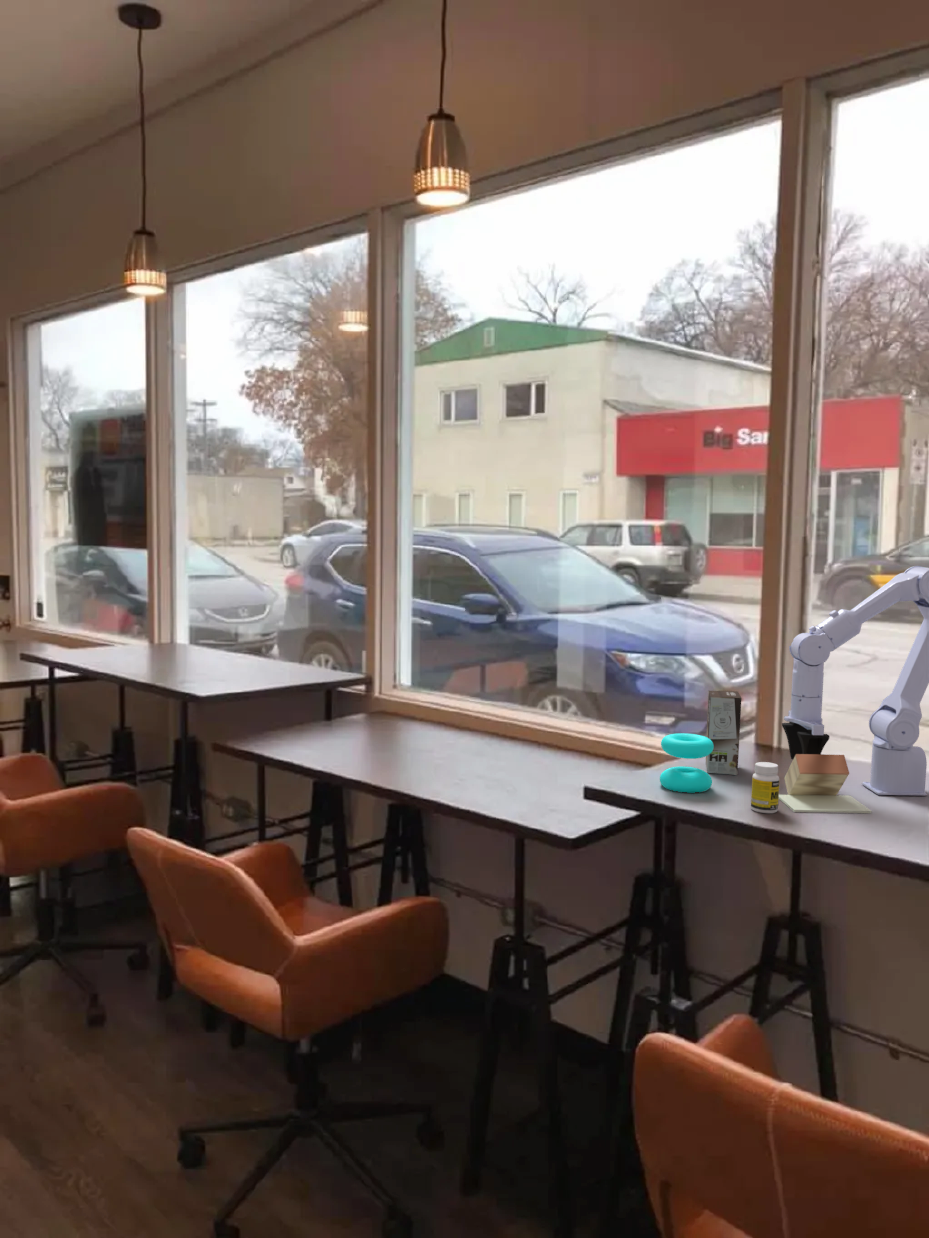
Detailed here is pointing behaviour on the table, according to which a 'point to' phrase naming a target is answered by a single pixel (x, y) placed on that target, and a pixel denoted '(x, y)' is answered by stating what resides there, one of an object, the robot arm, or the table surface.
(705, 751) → the donuts
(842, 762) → the birch slab
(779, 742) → the table surface
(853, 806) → the green board
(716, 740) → the coffee box
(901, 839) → the table surface
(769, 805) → the supplement bottle
